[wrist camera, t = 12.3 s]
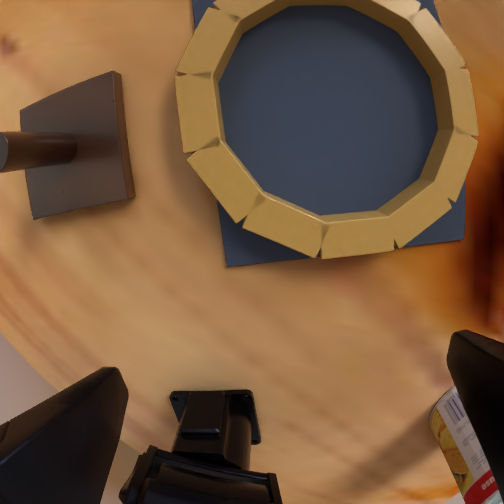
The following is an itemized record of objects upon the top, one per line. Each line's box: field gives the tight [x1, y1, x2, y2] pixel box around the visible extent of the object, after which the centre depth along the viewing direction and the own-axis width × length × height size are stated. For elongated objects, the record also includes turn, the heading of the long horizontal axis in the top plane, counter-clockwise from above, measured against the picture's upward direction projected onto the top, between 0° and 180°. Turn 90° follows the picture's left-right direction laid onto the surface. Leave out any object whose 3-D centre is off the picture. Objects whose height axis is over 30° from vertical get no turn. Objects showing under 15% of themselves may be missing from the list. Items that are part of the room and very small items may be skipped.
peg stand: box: [0, 71, 135, 220], centre depth 14 cm, size 8×8×8 cm
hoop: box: [174, 0, 479, 259], centre depth 15 cm, size 17×17×2 cm
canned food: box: [429, 386, 503, 504], centre depth 17 cm, size 8×8×12 cm
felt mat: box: [192, 0, 465, 267], centre depth 16 cm, size 18×16×1 cm
